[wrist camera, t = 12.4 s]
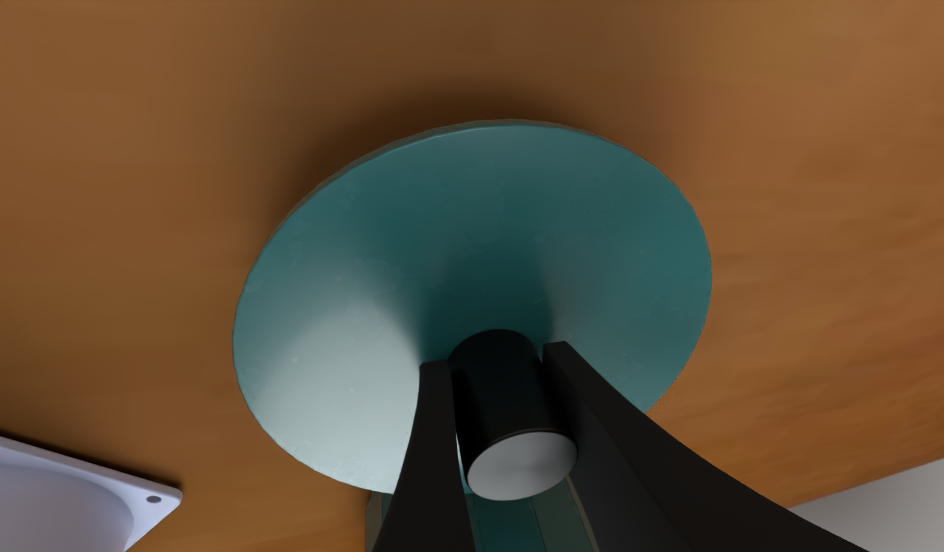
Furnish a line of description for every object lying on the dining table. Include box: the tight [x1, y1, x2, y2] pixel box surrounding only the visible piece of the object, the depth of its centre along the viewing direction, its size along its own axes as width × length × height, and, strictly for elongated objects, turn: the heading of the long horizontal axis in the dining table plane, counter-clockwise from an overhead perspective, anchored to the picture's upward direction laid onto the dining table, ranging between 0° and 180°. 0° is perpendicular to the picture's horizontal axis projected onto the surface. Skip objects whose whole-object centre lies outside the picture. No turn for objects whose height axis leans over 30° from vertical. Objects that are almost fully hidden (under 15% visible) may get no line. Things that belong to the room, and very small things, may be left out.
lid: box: [232, 119, 712, 501], centre depth 11 cm, size 13×13×4 cm
